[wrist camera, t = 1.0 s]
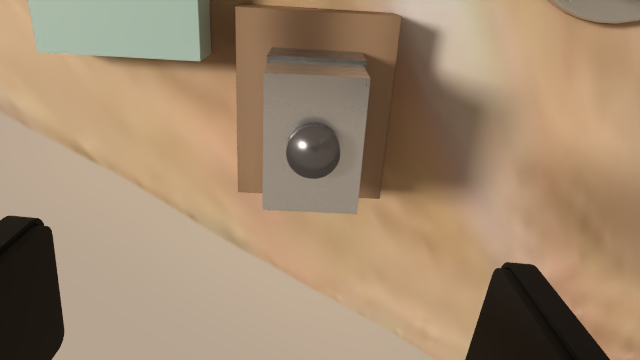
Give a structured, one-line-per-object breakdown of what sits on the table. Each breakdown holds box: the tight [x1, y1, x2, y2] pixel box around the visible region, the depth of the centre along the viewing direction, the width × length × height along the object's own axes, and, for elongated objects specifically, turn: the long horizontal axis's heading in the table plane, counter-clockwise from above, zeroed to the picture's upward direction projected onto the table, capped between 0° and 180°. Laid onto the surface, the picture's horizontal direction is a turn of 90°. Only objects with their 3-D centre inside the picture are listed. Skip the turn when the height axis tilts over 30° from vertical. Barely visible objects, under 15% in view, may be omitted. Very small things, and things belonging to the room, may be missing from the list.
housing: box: [262, 47, 370, 214], centre depth 24 cm, size 5×7×7 cm
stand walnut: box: [235, 4, 401, 199], centre depth 28 cm, size 9×11×3 cm
